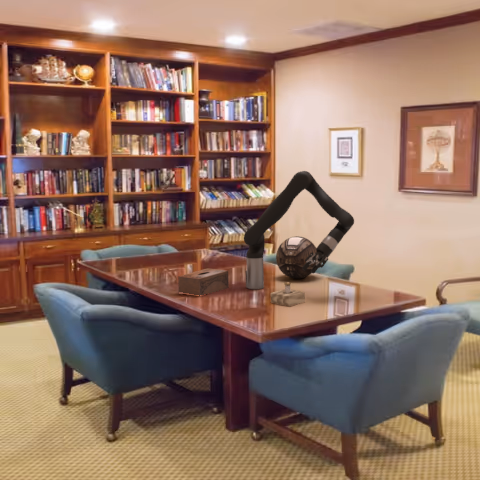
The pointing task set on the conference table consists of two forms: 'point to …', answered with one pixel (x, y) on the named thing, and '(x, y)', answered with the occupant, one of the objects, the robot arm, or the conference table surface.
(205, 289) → the tissue box cover
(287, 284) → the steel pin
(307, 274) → the sphere
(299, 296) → the maple hitch block
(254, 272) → the robot arm
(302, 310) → the conference table surface
